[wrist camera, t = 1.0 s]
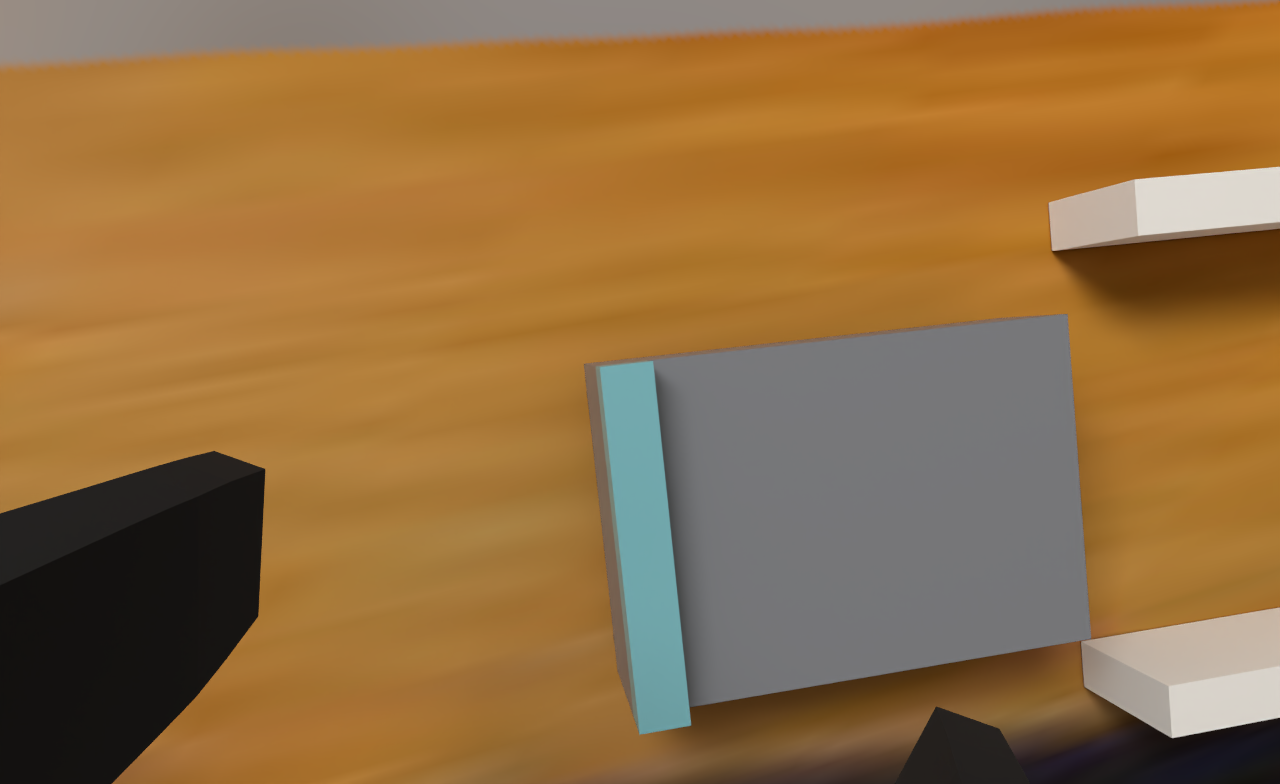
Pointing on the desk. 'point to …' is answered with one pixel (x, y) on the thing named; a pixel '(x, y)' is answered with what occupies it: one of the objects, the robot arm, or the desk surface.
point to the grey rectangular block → (837, 508)
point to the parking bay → (1211, 649)
